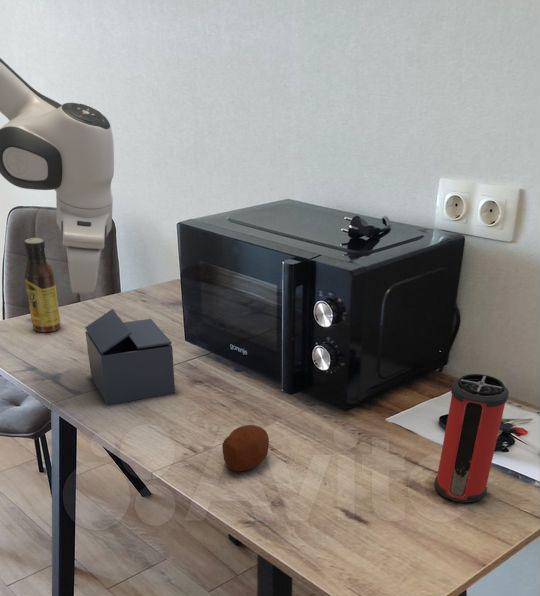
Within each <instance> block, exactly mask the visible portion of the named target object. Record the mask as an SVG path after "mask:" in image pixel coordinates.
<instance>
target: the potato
mask: <svg viewBox="0 0 540 596" xmlns="http://www.w3.org/2000/svg"><path fill="white" fill-rule="evenodd" d="M269 446H270V438H269V434H268V433H267V430H266V429H265V428H263V427H261V426H258V425H254V424H245V425H242V426H239V427H237V428H235V429H233V430H232V431H231V432H230V434H229V435H228V436H227V437H225V439H224V440H223V442H222V446H221V448H222V457H223V461H224V464H225V465H226V467H227V468H228V469H229V470H232V471H233V472H245V471H248V470H252V469H253V468H255V467H257V466H259V465H261V464H263V462H264V461H265V460H266V459H267V456H268V453H269Z"/></svg>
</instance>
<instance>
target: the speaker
mask: <svg viewBox="0 0 540 596" xmlns="http://www.w3.org/2000/svg"><path fill="white" fill-rule="evenodd" d="M450 393H451V398H450V403H449V409H448V414H447V420H446V425H445V431H444V435H443V442H442V447H441V452H440V458H439V464H438V470H437V475H436V477H435V479H434V488H435V490H436V491H437V492H438V493H439V494H440V495H441V496H442V497H444V498H446V499H448V500H451V501H454V502H456V503H462V504H465V503H473V502H477V501H480V500H482V499H483V498H484V497H485V496H486V494H487V490H488V487H487V485H488V481H489V475H490V471H491V467H492V464H493V463H492V462H493V459H494V454H495V450H496V445H497V441H498V437H499V432H500V428H501V424H502V419H503V414H504V410H505V406H506V403H507V402H508V400H509V399H508V398H509V393H510V391H509V389H508V388H507V387H506V386H505V384H504V383H503V381H501V380H500V379H498V378H496V377H494V376H491V375H487V374H481V373H471V374H466V375H463V376H460V378H458V379H456V380H455V381H454V382H452V385H451V390H450Z"/></svg>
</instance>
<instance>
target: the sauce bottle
mask: <svg viewBox="0 0 540 596" xmlns="http://www.w3.org/2000/svg"><path fill="white" fill-rule="evenodd" d="M23 244H24V247H25V248H24V249H25V250H26V257H27V263H26V268H25V273H24V282H25V290H26V295H27V302H28V308H29V313H30V319H31V323H32V328H33V330H35V331H37V332H39V333H51V332H55V331H58V330H60V328H61V315H60V308H59V301H58V294H57V285H56V283H55V275H54V270H53V269H52V266H51V265H50V264H49V263H48V261H47V256H46V251H45V247H46V243H45V240H44V239H43V238H40V237H30V238H26V239H25V240H24V243H23Z"/></svg>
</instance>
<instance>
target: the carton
mask: <svg viewBox="0 0 540 596" xmlns="http://www.w3.org/2000/svg"><path fill="white" fill-rule="evenodd" d="M122 322H123V323H124V324H125V325H126V327H127V328H128V329H129V330H130V332H131V333H132V334H131V335H129V336H128V337H126V338H125V339H123V340H122V341H121V342H119V343H118V344H116V345H115V346H113V347H112V348H110V349H109V350H107V351H106V352H104V353H103V354H102V353H101V352H100V350H99V349H98V347H97V346H96V344H95V343H94V341H93V339H92V338H91V336H90V335H89V333H88V332H87V330H85V338H86V346H87V347H86V348H87V355H88V363H89V370H90V377H91V380H92V381H93V383H94V385H95V386H96V388H97V390H98V391H99V393H100V395H101V397H102V398H103V400H104V402H105V404H106V405H107V406H109V405H110V406H111V405H116V404H122V403H126V402H131V401H138V400H144V399H150V398H154V397H161V396H166V395H173V394H176V388H175V387H176V385H175V370H174V369H175V368H174V355H173V354H174V353H173V345H172V344H173V343H172V341H171V339H170V338H169V337H168V336H167V335H166V334H165V333H164V332H163V330H161V329H160V327H159V326H158V325H157V324H156V323H155V321H153V319H152V318H147V319H146V318H145V319H139V320H132V321H125V322H124V321H122Z"/></svg>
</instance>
